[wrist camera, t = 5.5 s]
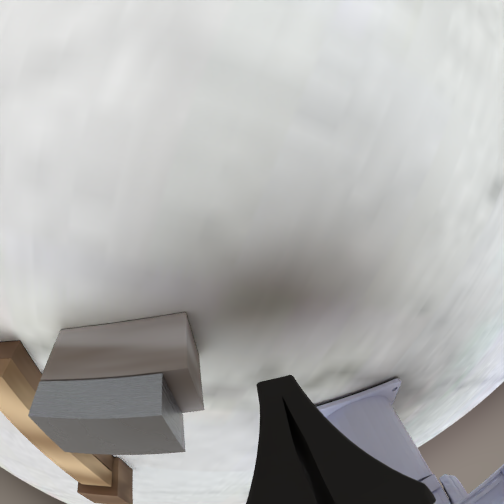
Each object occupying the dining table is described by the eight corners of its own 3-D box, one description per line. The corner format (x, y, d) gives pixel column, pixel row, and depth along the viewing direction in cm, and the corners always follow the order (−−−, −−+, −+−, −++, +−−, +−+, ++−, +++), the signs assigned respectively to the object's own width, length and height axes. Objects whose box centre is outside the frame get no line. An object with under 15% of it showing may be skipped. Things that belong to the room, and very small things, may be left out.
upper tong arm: (112, 472, 18) (111, 486, 16) (83, 470, 17) (81, 483, 16) (11, 358, 11) (2, 376, 10) (-19, 358, 11) (-29, 375, 10)
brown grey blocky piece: (237, 461, 22) (245, 498, 18) (96, 468, 20) (94, 502, 17) (185, 312, 14) (187, 375, 10) (-19, 336, 12) (-44, 380, 9)
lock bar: (182, 414, 12) (185, 451, 10) (70, 419, 11) (64, 451, 9) (162, 373, 10) (161, 415, 9) (39, 381, 10) (28, 415, 8)
